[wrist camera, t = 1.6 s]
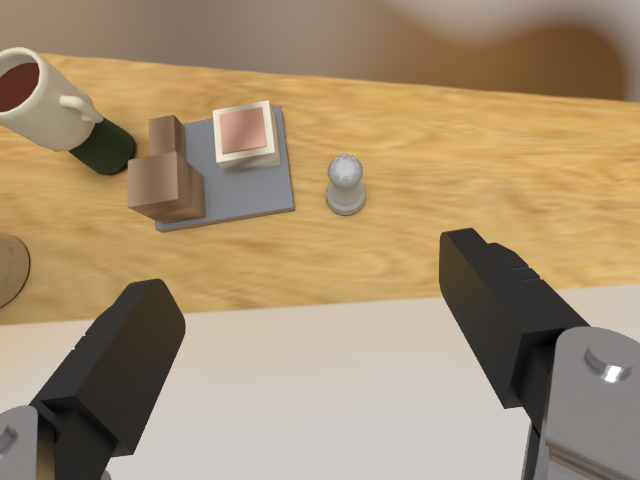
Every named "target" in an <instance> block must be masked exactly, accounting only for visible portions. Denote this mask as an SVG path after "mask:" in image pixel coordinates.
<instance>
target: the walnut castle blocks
mask: <svg viewBox="0 0 640 480" xmlns="http://www.w3.org/2000/svg"><path fill="white" fill-rule="evenodd" d="M128 208H130V209H132V210H134V211H137V212H139V213H141V214H143V215H145V216H147V217H149V218H152V219H154V220H156V221H158V222H160V223H162V224H168V223H174V222H180V221H186V220H192V219H198V218H204V217H206V207H205V190H204V177H203V176H202V175H201V174H200V173H199V172H198V171H197V170H196V169H195V168H194V167H192V166H191V165H190V164H189V163H188V162H187V161H186V141H185V127H184V126H183V125H182V124H181V122H180V121H179V120H178V119H177V118H176V117H175V116H174V115H171V116H165V117H160V118H155V119H149V156H148V157H143V158H137V159H132V160H128Z"/></svg>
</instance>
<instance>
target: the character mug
mask: <svg viewBox="0 0 640 480" xmlns="http://www.w3.org/2000/svg"><path fill="white" fill-rule="evenodd" d="M0 124H1V125H2V126H4V127H6V128H8V129H10V130H12V131H14V132H16V133H17V134H19V135H21V136H23V137H25V138H27V139H29V140H30V141H32V142H34V143H36V144H38V145H40V146H42V147H45V148H48V149H50V150H53V151H55V152H60V151H69V152H70V153H71V154H73V155H74V156H75V157H77V158H78V159H79V160H80V161H82V162H83V163H84V164H86V165H87V166H89V167H90V168H92V169H93V170H94V171H96V172H97V173H101V174H111V173H114V172H116V171H119V170H120V169H121V168H122V167H123V166H124V165H125V164H126V163H127V162H128V160H129V158H130V156H131V155H132V153H133V149H134V145H135V143H134V141H133V139H132V136H131V135H130V134H129V133H127V132H126V131H125V130H123V129H122V128H120V127H119V126H117V125H115V124H114V123H112V122H111V121H109V120H107V119H105V118H104V117H103V116H102V115H101V114H100V113H99V112H98V111H97V110H95V108H94V105H93V102H92V99H91V98H90V97H89V96H88V95H87V94H86V93H85V92H84V91H83V90H81V89H79V88H78V87H76V86H74V85H72V84H71V83H70V82H69V81H68V80H67V79H66V77H65V76H64V75H63V74H62V73H61V72H60V71H59V70H57V69H56V68H55V67H53V66H52V65H51V64H49V63H48V62H47V61H46V60H44V59H43V58H42V57H41V56H39V55H38V54H37V53H35V52H34V51H32V50H30V49H27V48H23V47H17V48H10V49H6V50H4V51H2V52H0Z"/></svg>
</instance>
